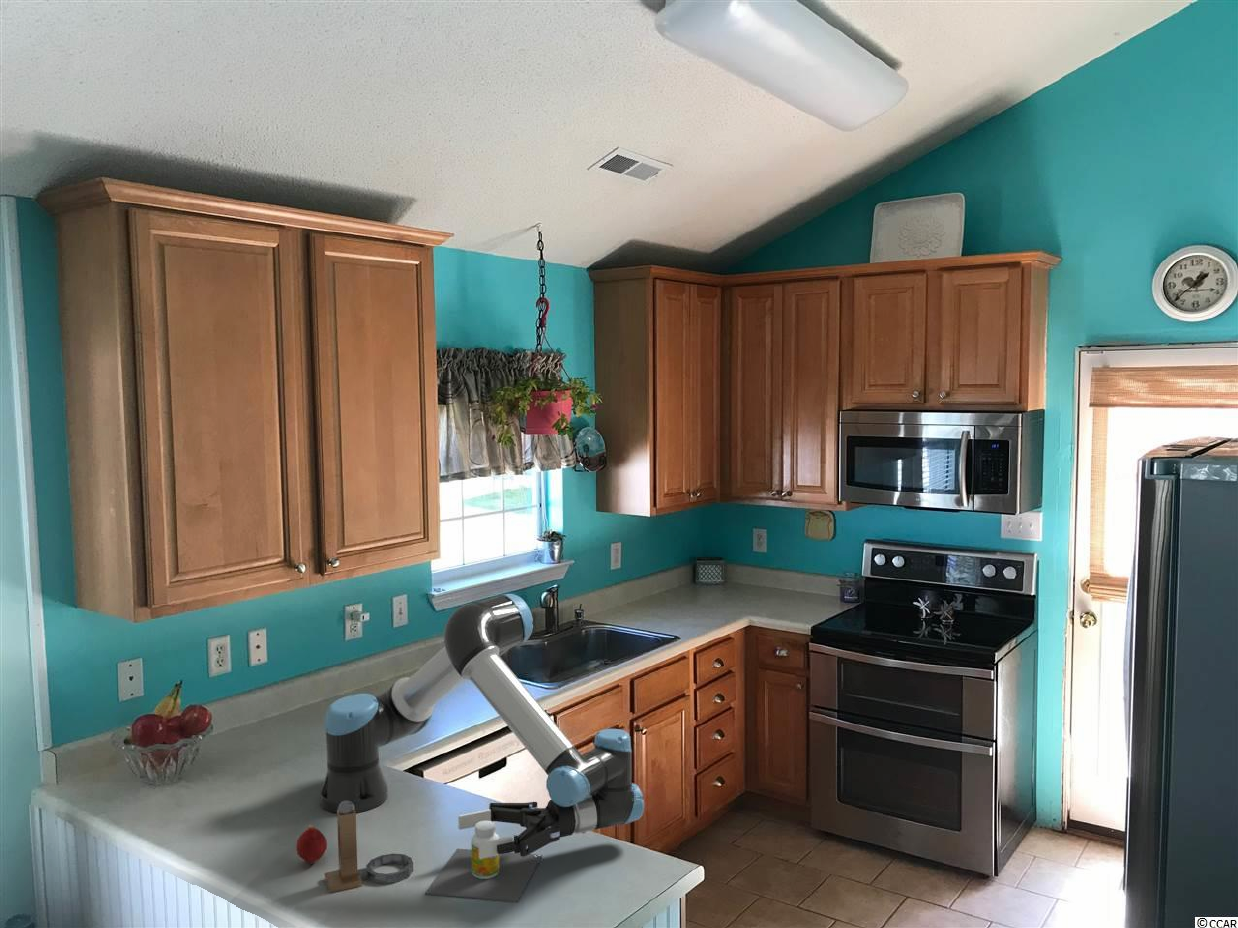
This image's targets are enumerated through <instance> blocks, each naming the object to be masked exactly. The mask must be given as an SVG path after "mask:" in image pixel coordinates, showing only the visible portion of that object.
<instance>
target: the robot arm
mask: <svg viewBox="0 0 1238 928" xmlns="http://www.w3.org/2000/svg"><path fill="white" fill-rule="evenodd" d="M532 615H533V614H532V611H531V610H530V607H529V605H528V604H527V602H526V601H525V600H524V599H523V598H522V597H520V596H519V595H516V594H514V593H505V594H503V593H501V594H498V595H496V596H494V597H490V598H487V599H483V600H479V601H475V602H472V603H467V604H464V605H461V606H460V607H458V608H457V609H456V610H454V611H453V612H452V613H451V614H450V616H449V617H448V619H447V621H446V623H445V627H444V630H443V644H444V646H443V647H442V648H441V649H440V650H438V652H436V654H435V655H433V657H431V658H430V659H429V660H428V661H427V662H426V663H425V664H424V665H422V666H421V667H420V668H419V669H418V670H417V671H416V672H415V673H413V674H412V676H405V677H401V678H399V679H398V680H397V681H395V682H394V683H393V684H392V685H391V686H390V687H389V688H388V689H387V690H385V691H384V692H382V693H380V694H377V695H372V694H370V693H356V694H353V695H345V696H343V697H341V698H338V699H337V700H335V701H333V702H332V703H331V704H330V705H329V706H328V707H327V709H326V712H325V724H324V729H325V739H326V740H325V741H326V774H325V775H324V776H325V777H324V780H323V782H322V783H323V784H322V787H321V790H320V792H319V793H320V795H319V797H320V800H319V801H320V806H321V808H323V809H324V810H326V811H328V812H331V813H336V814H337V809H338V807H339V805H340V803H341V802H343V801H345V800H348V801H351V802H352V803H353V804H354V810H355V812H356V813H360V812H365V811H368V810H371V809H375V808H377V807H379V806H380V805H382V804H383V803H385V802H386V801H387V800H388V797H389V794H388V793H389V791H388V784H387V782H386V779H385V776H384V774H383V773H384V772H383V771H382V768H381V765H380V748H381V747H383V746H386V745H388V744H391V743H393V742H395V741H398V740H401V739H403V738H406V737H408V736H411V735H416V734H417V733H419V732H421V731H422V730H423V729H425V727H427V726H428V724H429V723H430V722H431V720H432V717H433V712H434V709H435V705H436V704H437V703H438V702H439V701H441V699H442V698H443V697H445V696H446V695H447V694H448V693H449V692H451V691H452V690H453V689H454V688H455V687H456V686H458V685H459V684H460V683H461V682H462V681H463V680H469V681H471V683H473V685H474V686H475V687H476V689H477V690H478V691H479V693H481V696H482V697H484V698H485V700H486V701H487V703H489V704H490V706H491V707H492V708H493V710H494V711H495V712H496V713H497V714H498V716H499V717H500V718H501V720H502V721H503V722H504V723H505V724H506V726H507V727H508V728H509V729H510V730H511V732H512V733H513V734H514V736H515V737H516V738H517V739H518V740H519V742H520V743H521V744H522V745H523V746H524V748H525V749H526V750H527V752H529V753H530V755H531V756H532V757H533V758H534V760H535V761H536V762H537V764H538V765H539V766H540V767H541V768H542V770H543V771H544V773H545V774H546V775H547V778H546V781H545V783H546V790H547V792H548V796H549V798H550V800H549V801H548V802H547V805H546V806H545V807H542V808H541V807H538V802H537V801H530V802H490V803H489V805H488V806H489V807H488V809H483V810H478V811H473V812H468V813H463V814H457V815H458V816H457V817H458V829H459V830H460V831H461V830H464V829H465V830H466V829H470V828H475V825H476V823H478V822H480V821H492V822H498V823H508V824H515V825H520V827H522V828H523V827H524V828H526V829H524V830H523V831H522V832H521V833H519V834H518V835H515V834H514V835H513V836H507V837H503V838H499V839H497V840H493V841H488V842H483V843H479V844H478V852H479V859H483V858H488V857H492V856H497V855H501V854H506V853H520V856H522V857H524V856H527V855H529V854H533V853H534V852H536V851H537V850H540V849H542V848H544V847H545V846H547V845H549V844H551V843H554V842H557V841H560V840H561V839H560V838H566V837H569V836H572V835H573V834H575V835H577V834H578V835H579V834H583V835H584V834H586V833H587V832H591V831H594V830H595V831H596V830H600V829H604V828H605V829H606V828H610V827H615V826H622V825H627V824H629V823H633V822H635V821H638V820H640V819H641V817H642V816H643V814H644V810H645V801H644V796H643V792H642V790H641V789H640V787H639V786H638V784H636V783H633V782H632V752H633V751H632V746H631V745H632V744H631V736H630V734H629V733H628V732H627V731H626V730H623V729H618V728H606V729H605V728H604V729H602V730H599V731H598V732H596V734H595V735H594V741H593V745H594V748H591V749H590V750H588V751H586V752H584V753H582V754H581V752H580V751H579V749H577V748H576V747H575V746H574V744H573V743H572V742H571V740H570V739H569V738H568V737H567V736H566V735H565V734H564V732H563V730H561V729H560V727H559V726H558V724H556V722H555V721H554V720H553V719H552V718H551V717H550V716H549V714H548V713H547V712H546V711H545V709H544V708H543V707H542V706H541V705H540V704H539V702H538V700H536V698H535V697H534V696H533V695H532V694H531V692H530V691H529V690H528V689H527V687H526V686H525V685H524V684H523V683H522V681H520V679H519V678H518V677H517V675H516V674H515V673H514V672H513V670H511V668H510V667H509V666H508V664H507V663H506V662H505V661H504V660H503V659H502V657H501V656H503V654H505V653H506V652H507V651H509V650H510V649H511V648H513V647H514V646H520V645H522V644H524V643H525V642H526V641H528V639H529V638H531V635H532V633H533V628H534V625H533V621H534V620H533V616H532Z"/></svg>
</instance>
